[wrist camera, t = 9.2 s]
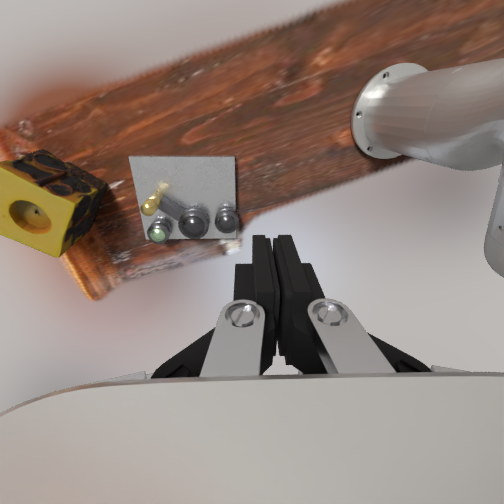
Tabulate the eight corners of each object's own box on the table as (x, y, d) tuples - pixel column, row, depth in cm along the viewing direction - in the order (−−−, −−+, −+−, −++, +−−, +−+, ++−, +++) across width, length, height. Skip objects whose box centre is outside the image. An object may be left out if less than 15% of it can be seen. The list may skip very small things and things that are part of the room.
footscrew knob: (215, 218, 44) (212, 232, 39) (199, 239, 46) (195, 255, 41) (159, 181, 41) (149, 192, 36) (145, 205, 43) (133, 219, 38)
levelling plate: (237, 155, 41) (237, 160, 38) (238, 234, 48) (239, 244, 44) (132, 154, 40) (121, 159, 37) (148, 235, 47) (141, 246, 44)
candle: (42, 147, 39) (-13, 159, 31) (109, 182, 42) (77, 202, 34) (29, 202, 43) (-23, 226, 35) (91, 230, 46) (58, 259, 38)
